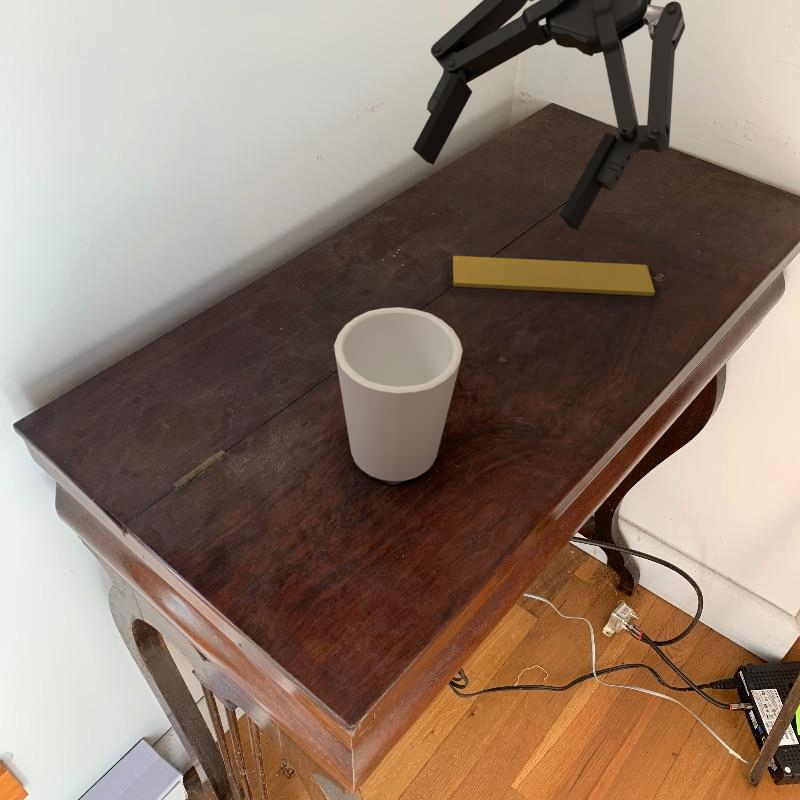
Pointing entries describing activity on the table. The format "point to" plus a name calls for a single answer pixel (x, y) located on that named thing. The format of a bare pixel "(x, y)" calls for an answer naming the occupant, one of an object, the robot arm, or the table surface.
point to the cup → (396, 389)
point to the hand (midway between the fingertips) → (492, 188)
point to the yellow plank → (552, 275)
